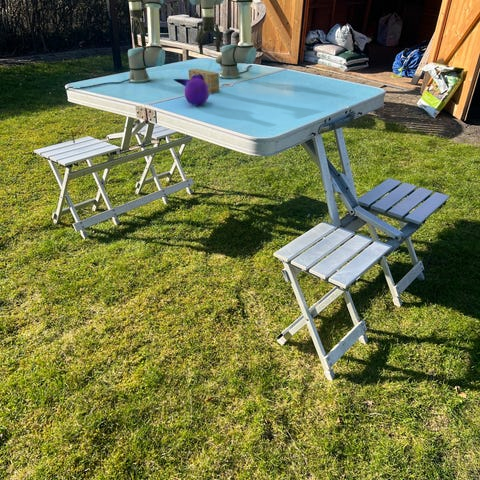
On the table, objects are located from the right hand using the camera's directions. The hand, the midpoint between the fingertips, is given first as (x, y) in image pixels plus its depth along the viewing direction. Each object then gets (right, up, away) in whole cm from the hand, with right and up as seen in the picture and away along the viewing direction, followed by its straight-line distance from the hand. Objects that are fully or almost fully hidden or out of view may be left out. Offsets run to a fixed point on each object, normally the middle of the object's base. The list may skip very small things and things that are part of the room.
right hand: (209, 53), depth 291 cm
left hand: (-46, +6, +2) cm, 46 cm away
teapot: (+9, +23, +87) cm, 90 cm away
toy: (-9, -37, -14) cm, 41 cm away
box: (-5, -18, +18) cm, 26 cm away
